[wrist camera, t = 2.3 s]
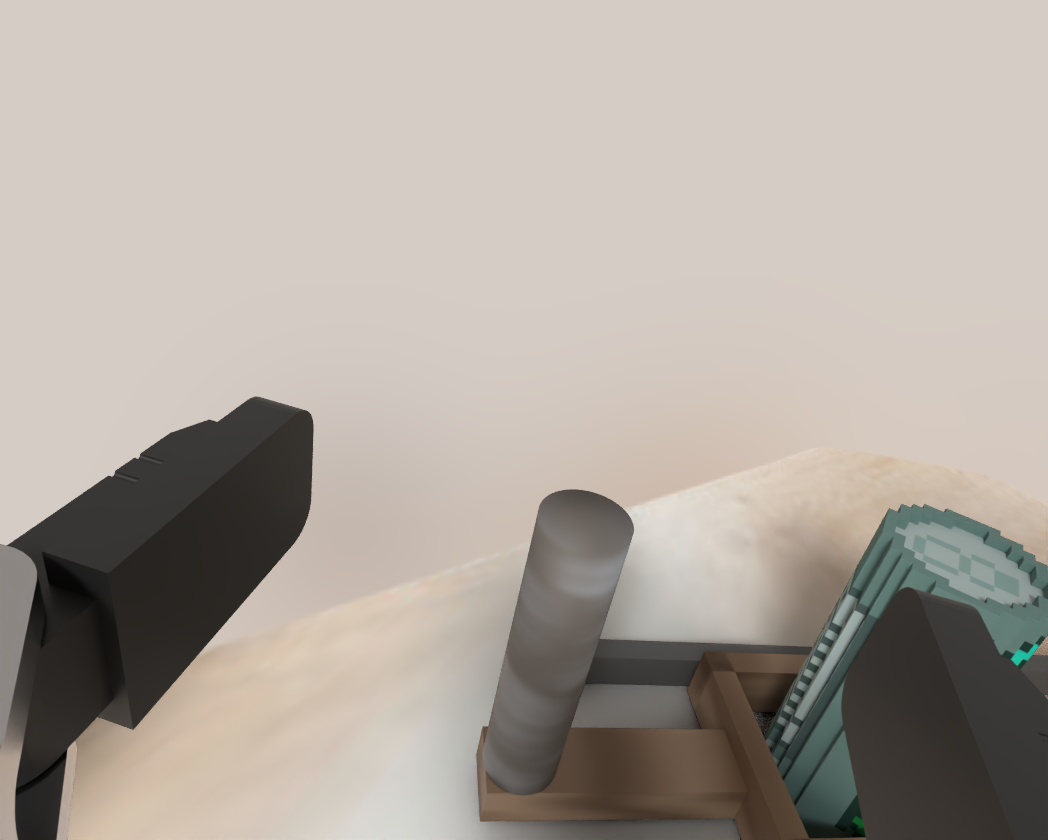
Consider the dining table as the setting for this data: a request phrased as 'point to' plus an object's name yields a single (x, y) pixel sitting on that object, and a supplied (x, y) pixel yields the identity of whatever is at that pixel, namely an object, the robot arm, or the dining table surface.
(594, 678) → the lane rails
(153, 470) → the robot arm
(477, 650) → the dining table surface
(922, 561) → the can
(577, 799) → the pull sled
